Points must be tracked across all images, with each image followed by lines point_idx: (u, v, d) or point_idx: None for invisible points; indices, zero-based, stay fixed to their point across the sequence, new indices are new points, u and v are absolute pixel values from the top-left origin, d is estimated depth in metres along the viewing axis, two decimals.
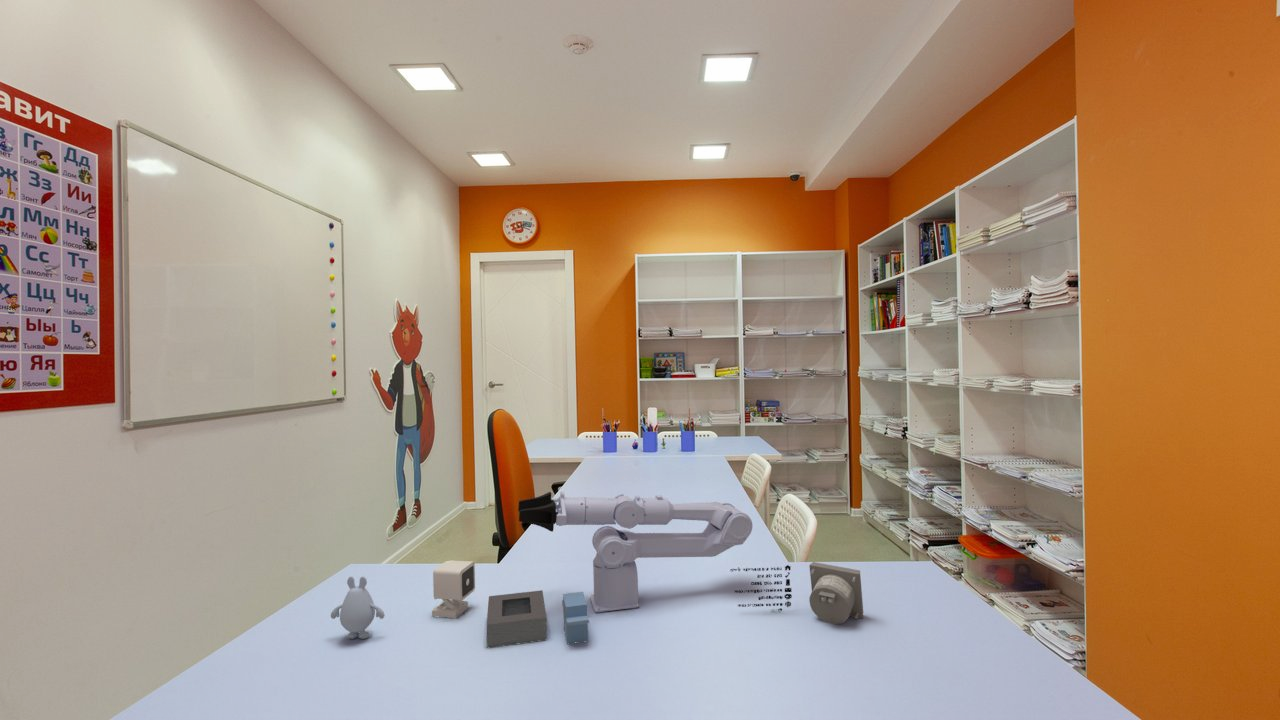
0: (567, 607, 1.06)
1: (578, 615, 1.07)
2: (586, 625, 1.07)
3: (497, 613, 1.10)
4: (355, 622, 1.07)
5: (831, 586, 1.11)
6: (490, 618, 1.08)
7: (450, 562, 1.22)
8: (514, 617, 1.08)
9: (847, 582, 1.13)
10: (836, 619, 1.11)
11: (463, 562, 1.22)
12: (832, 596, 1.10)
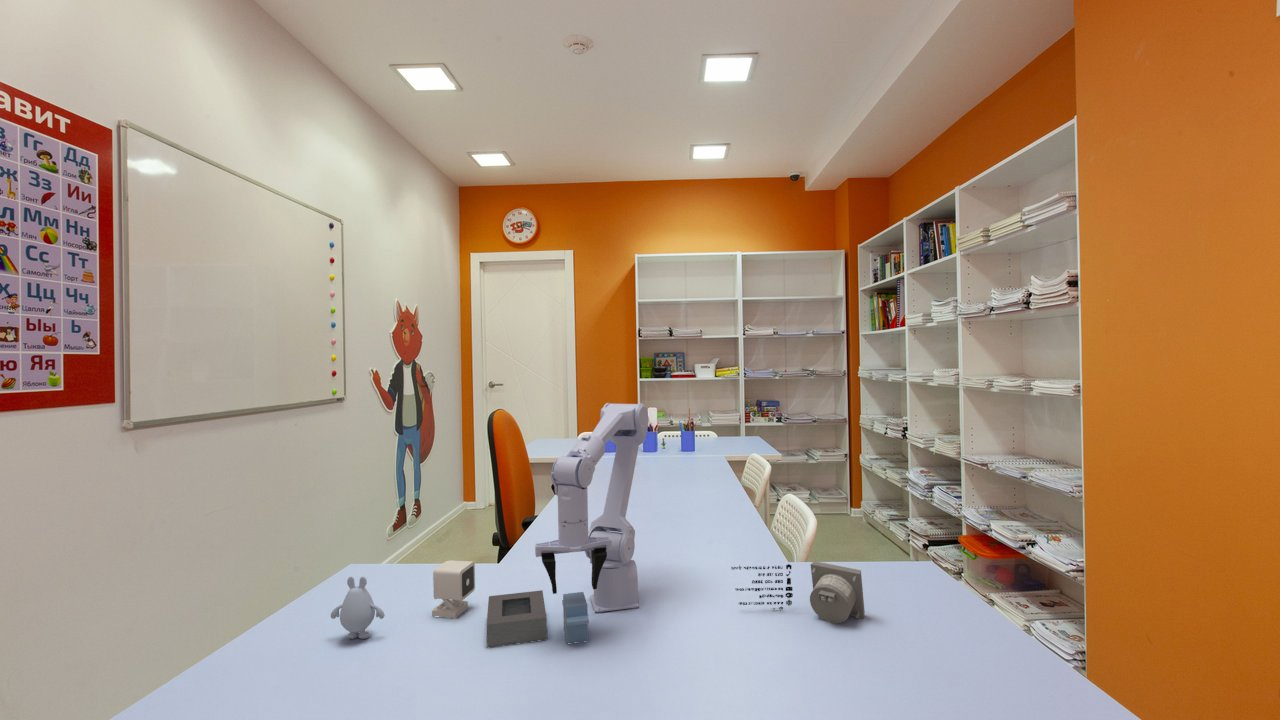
0: (567, 607, 1.06)
1: (578, 615, 1.07)
2: (586, 625, 1.07)
3: (497, 613, 1.10)
4: (355, 622, 1.07)
5: (831, 585, 1.12)
6: (490, 618, 1.08)
7: (450, 562, 1.22)
8: (514, 617, 1.08)
9: (848, 582, 1.14)
10: (836, 618, 1.12)
11: (463, 562, 1.22)
12: (832, 595, 1.10)
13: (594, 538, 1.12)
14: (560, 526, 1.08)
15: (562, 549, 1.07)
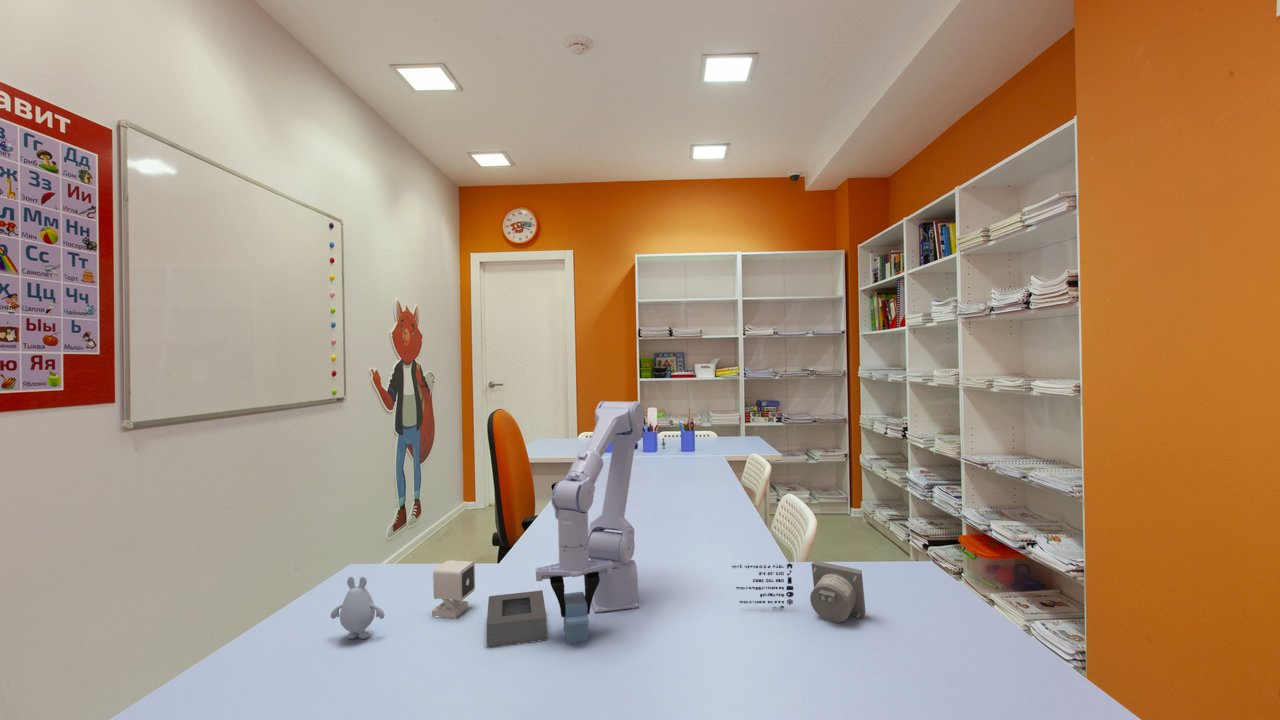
0: (567, 607, 1.06)
1: (578, 615, 1.07)
2: (586, 625, 1.07)
3: (497, 613, 1.10)
4: (355, 622, 1.07)
5: (831, 585, 1.12)
6: (490, 618, 1.08)
7: (450, 562, 1.22)
8: (514, 617, 1.08)
9: (848, 581, 1.14)
10: (836, 618, 1.12)
11: (463, 562, 1.22)
12: (832, 595, 1.10)
13: (595, 561, 1.12)
14: (561, 550, 1.08)
15: (563, 574, 1.07)
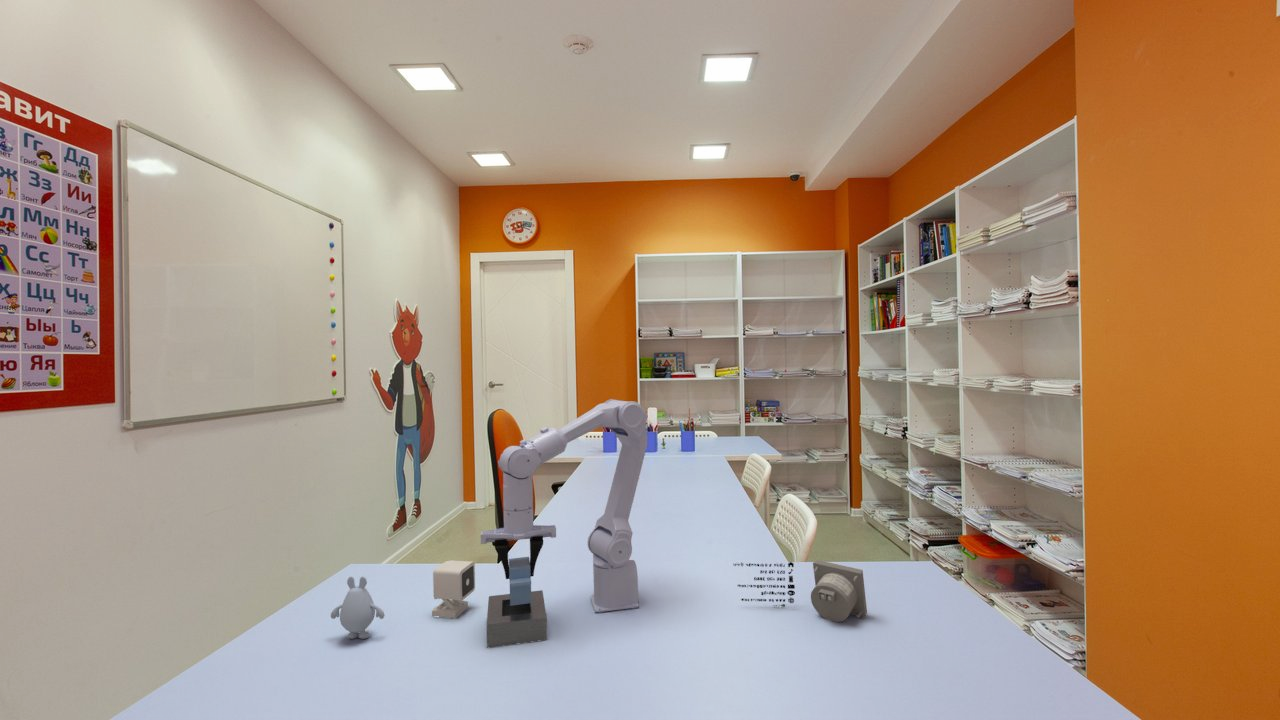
0: (510, 569, 1.09)
1: (521, 577, 1.10)
2: (529, 587, 1.10)
3: (497, 613, 1.10)
4: (355, 622, 1.07)
5: (831, 584, 1.12)
6: (490, 618, 1.08)
7: (450, 562, 1.22)
8: (514, 617, 1.08)
9: (849, 581, 1.14)
10: (836, 617, 1.12)
11: (463, 562, 1.22)
12: (831, 594, 1.11)
13: (540, 526, 1.15)
14: (505, 514, 1.11)
15: (506, 536, 1.10)
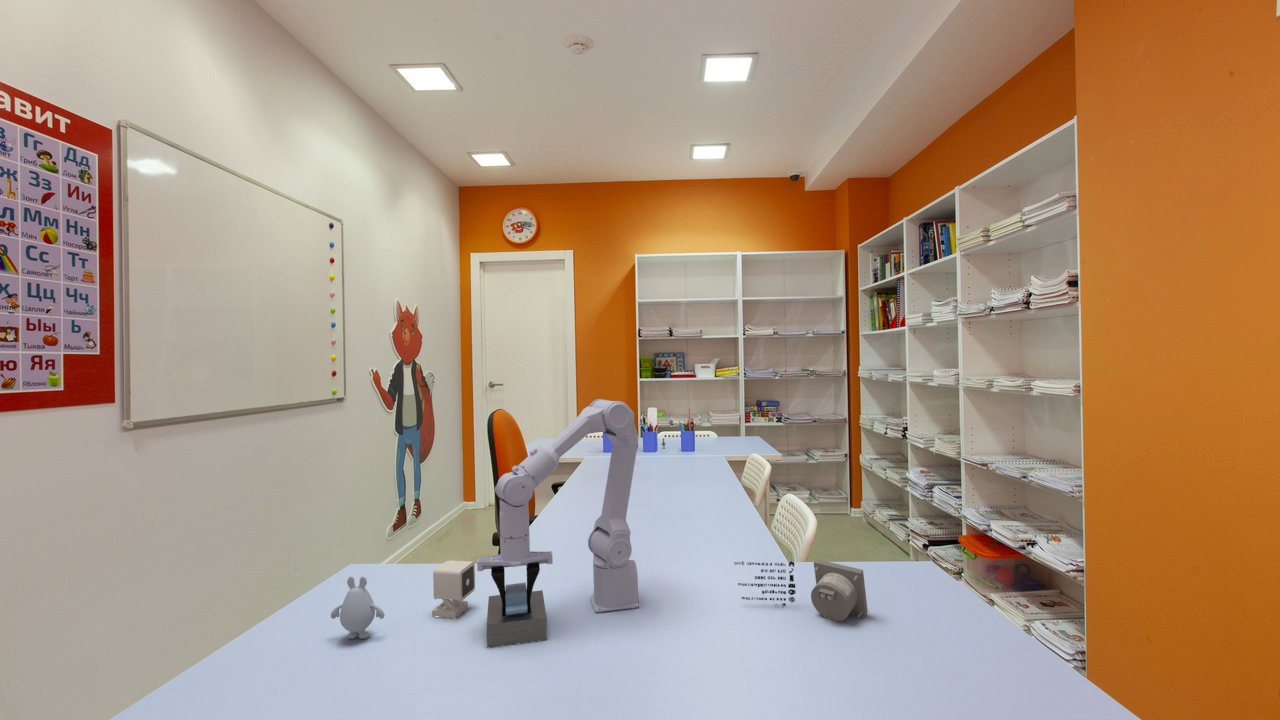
0: (507, 597, 1.10)
1: (518, 604, 1.10)
2: None
3: (497, 613, 1.10)
4: (355, 622, 1.07)
5: (831, 584, 1.13)
6: (490, 618, 1.08)
7: (450, 562, 1.22)
8: (514, 617, 1.08)
9: (849, 581, 1.14)
10: (836, 616, 1.13)
11: (463, 562, 1.22)
12: (831, 593, 1.11)
13: (536, 552, 1.15)
14: (501, 541, 1.11)
15: (503, 564, 1.10)
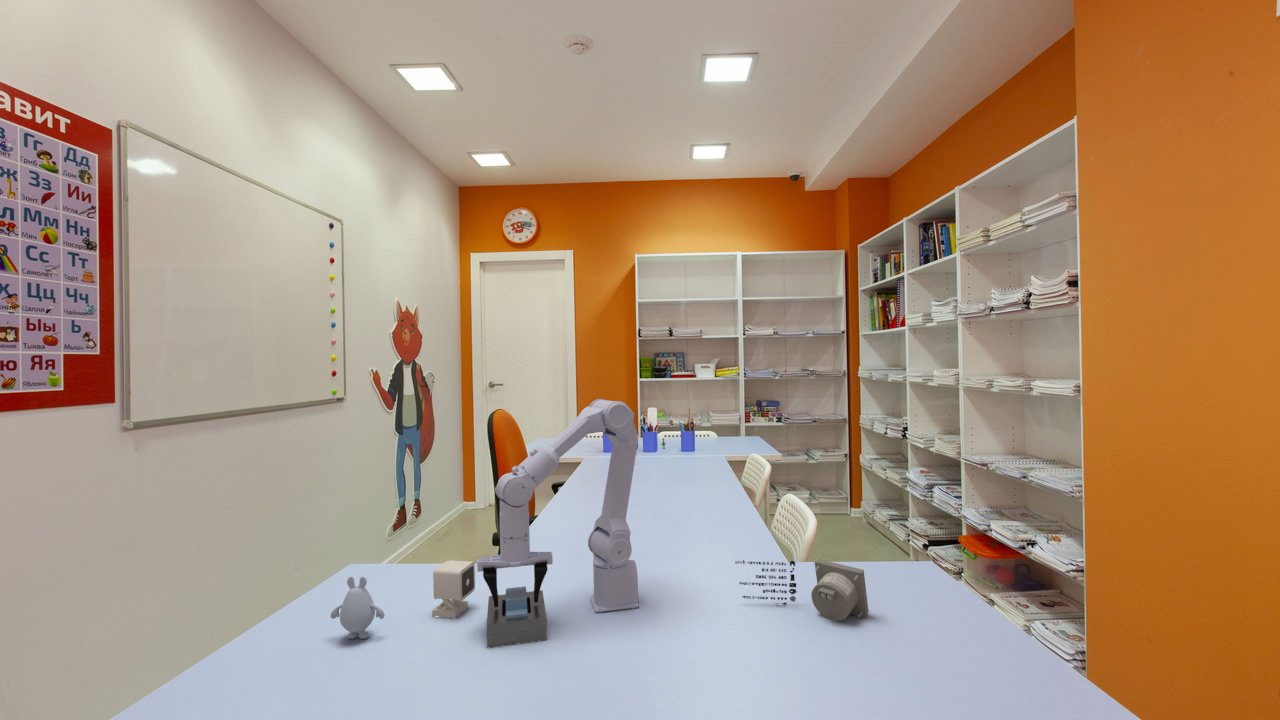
0: (507, 601, 1.10)
1: (518, 609, 1.10)
2: None
3: (497, 613, 1.10)
4: (355, 622, 1.07)
5: (832, 583, 1.13)
6: (490, 618, 1.08)
7: (450, 562, 1.22)
8: None
9: (850, 580, 1.14)
10: (837, 616, 1.13)
11: (463, 562, 1.22)
12: (831, 593, 1.11)
13: (536, 553, 1.15)
14: (501, 542, 1.11)
15: (503, 564, 1.10)
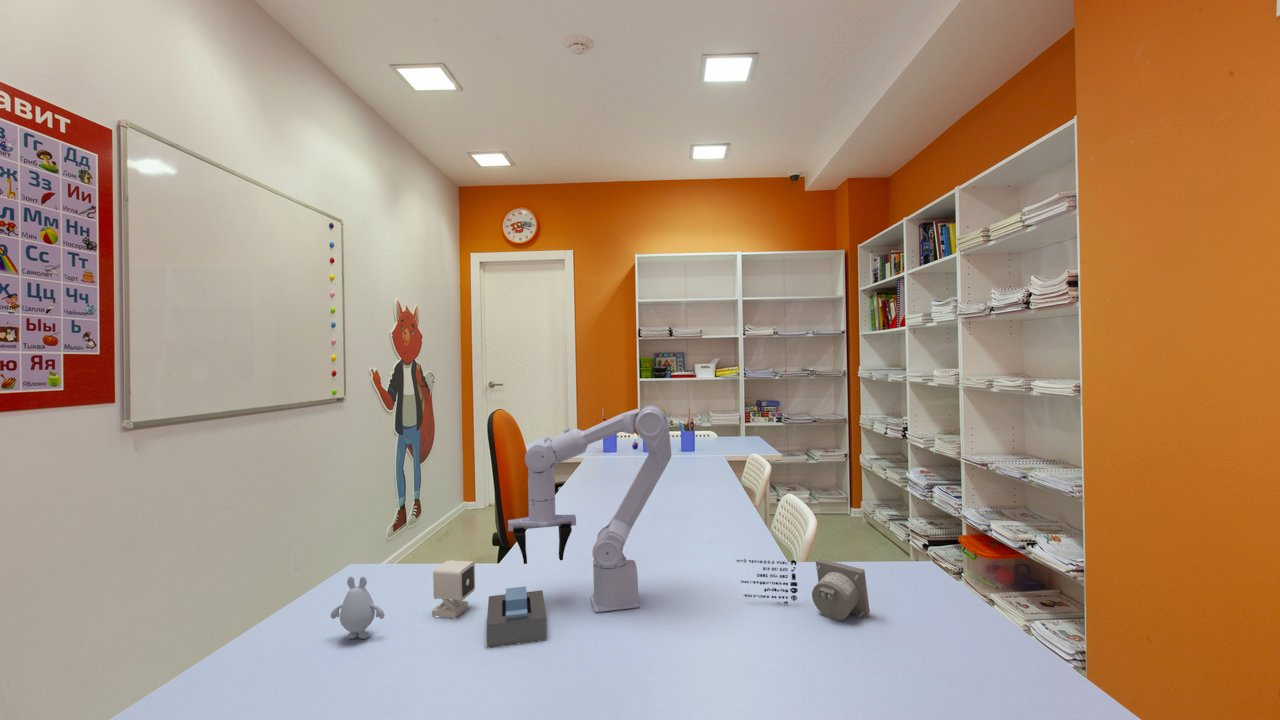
0: (507, 601, 1.10)
1: (518, 608, 1.10)
2: None
3: (497, 613, 1.10)
4: (355, 622, 1.07)
5: (832, 583, 1.13)
6: (490, 618, 1.08)
7: (450, 562, 1.22)
8: None
9: (851, 580, 1.14)
10: (837, 615, 1.13)
11: (463, 562, 1.22)
12: (831, 592, 1.12)
13: (561, 515, 1.26)
14: (530, 504, 1.22)
15: (531, 524, 1.21)
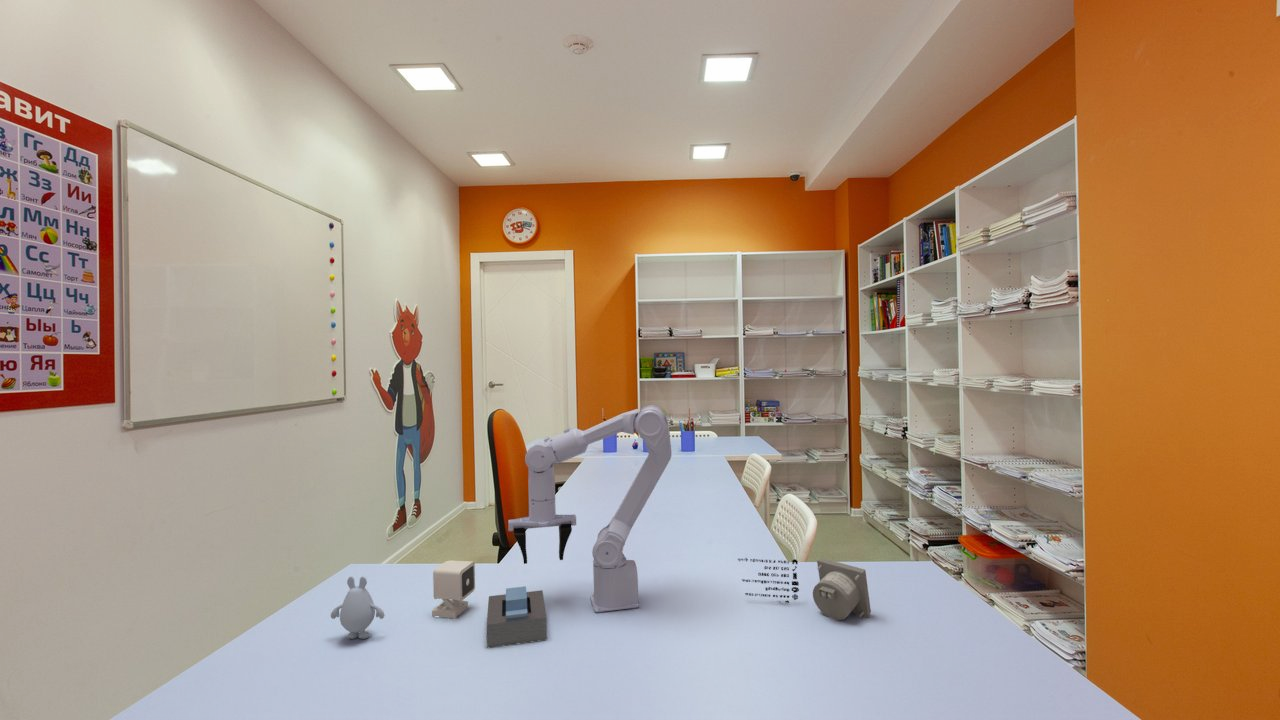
0: (507, 601, 1.10)
1: (518, 609, 1.10)
2: None
3: (497, 613, 1.10)
4: (355, 622, 1.07)
5: (832, 582, 1.13)
6: (490, 618, 1.08)
7: (450, 562, 1.22)
8: None
9: (851, 580, 1.15)
10: (837, 615, 1.13)
11: (463, 562, 1.22)
12: (831, 592, 1.12)
13: (561, 515, 1.26)
14: (530, 504, 1.22)
15: (531, 524, 1.21)
